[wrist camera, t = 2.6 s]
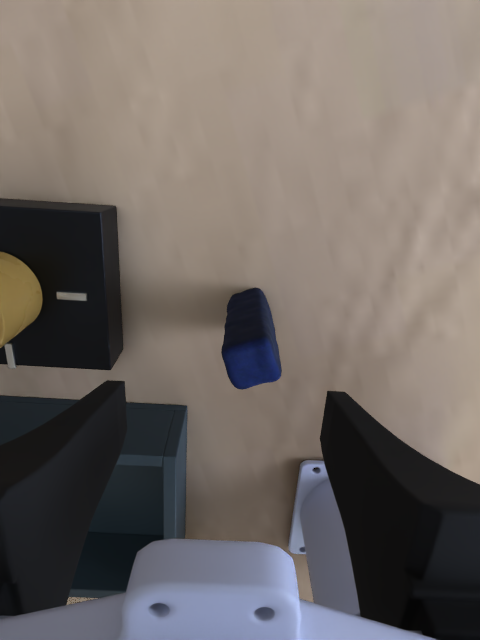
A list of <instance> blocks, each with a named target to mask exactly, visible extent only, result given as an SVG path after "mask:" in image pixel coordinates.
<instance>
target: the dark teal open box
mask: <svg viewBox="0 0 480 640" xmlns="http://www.w3.org/2000/svg"><path fill="white" fill-rule="evenodd" d="M78 401H79V400H70V399H51V398H33V397H14V396H0V445H2V444H4V443H6V442H9V441H11V440H13V439H16V438H18V437H20V436H22V435H24V434H26V433H28V432H30V431H31V430H33V429H35V428H37V427H39V426H41V425H42V424H44V423H46V422H47V421H49V420H51V419H52V418H54V417H55V416H57V415H58V414H60V413H62V412H63V411H65V410H66V409H68V408H69V407H71V406H72V405H74V404H75V403H76V402H78ZM126 415H127V432H126V436H125V440H124V443H123V447H122V450H121V453H120V456H119V458H118V461H117V463H116V465H115V468H114V470H113V472H112V474H111V477H110V479H109V481H108V483H107V486H106V488H105V490H104V492H103V495H102V497H101V499H100V501H99V504H98V506H97V508H96V511H95V513H94V516H93V518H92V521H91V524H90V527H89V530H88V533H87V536H86V539H85V543H84V546H83V549H82V552H81V555H80V559H79V562H78V565H77V569H76V572H75V575H74V579H73V582H72V586H71V589H70V593H69V596H68V597H87V598H102V597H107V596H112V595H117V594H121V593H126V590H127V586H128V582H129V579H130V575H131V571H132V567H133V564H134V561H135V558H136V555H137V552H138V551H140V550H141V549H142V548H144V547H145V546H147V545H148V544H150V543H151V542H153V541H159V540H165V539H172V538H175V539H185V511H186V452H187V406H183V405H164V404H145V403H126Z"/></svg>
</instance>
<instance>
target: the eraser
mask: <svg viewBox="0 0 480 640" xmlns="http://www.w3.org/2000/svg"><path fill="white" fill-rule="evenodd" d="M222 357H223V360H224V363H225V366H226V370H227V374H228V377H229V379H230V381H231V383H232V384H233V385H234V387H236V388H237V389H247V388H250V387H252V386H255V385H259V384H262V383H267V382H274V381H277V380H278V379H279V378H280V377H281V371H282V370H281V363H280V357H279V350H278V345H277V341H276V335H275V328H274V324H273V319H272V315H271V311H270V308H269V305H268V302H267V300H266V297H265V295H264V293H263V292H262V291H261V290H260V289H259V288H253V289H249V290H246V291H243V292H241V293H237V294H234V295H232V296H231V298H230V300H229V302H228V305H227V317H226V323H225V335H224V342H223V346H222Z"/></svg>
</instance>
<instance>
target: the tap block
mask: <svg viewBox="0 0 480 640" xmlns="http://www.w3.org/2000/svg"><path fill="white" fill-rule="evenodd" d="M0 252H4V253H7V254H10V255H12V256H14V257H16V258H18V259H19V260H21V261H22V262H23V263H24V264H26V265H27V266H28V267H29V268H30V269H31V271H32V272H33V273H34V275H35V276H36V278H37V280H38V282H39V284H40V287H41V290H42V299H43V300H42V307H41V310H40V313H39V315H38V316H37V318H36V319H35V320H34V321H33V322H32V323H31V324H30V325H28V326H27V327H26V328H25V329H24V330H22V331H21V332H20V333H19V334H17V335H16V336H15V337H14V338H12V339H11V340H10V341H9V342H8V343H6V344H5V345H4V346H3V347H1V348H0V364H8V368H13V369H15V368H16V367H17V366H16V365H27V366H45V367H63V368H81V369H99V370H111V369H112V367H113V365H114V364H115V362H116V360H117V359H118V357H119V355H120V354H121V352H122V350H123V334H122V313H121V293H120V272H119V252H118V232H117V211H116V206H110V205H95V204H79V203H63V202H48V201H32V200H16V199H1V198H0Z"/></svg>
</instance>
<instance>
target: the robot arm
mask: <svg viewBox="0 0 480 640" xmlns="http://www.w3.org/2000/svg"><path fill="white" fill-rule="evenodd" d="M126 432H127V415H126V398H125V381H109V380H107V381H106V382H104V383H103V384H101V385H100V386H98V387H97V388H96V389H94V390H93V391H92V392H90V393H89V394H88V395H86V396H85V397H83V398H82V399H81V400H79V401H78V402H76V403H75V404H74V405H72V406H71V407H69V408H68V409H66V410H65V411H63V412H62V413H60V414H58V415H57V416H55V417H54V418H52V419H51V420H49V421H47V422H46V423H44V424H42V425H41V426H39V427H37V428H35V429H33V430H31V431H30V432H28V433H26V434H24V435H22V436H20V437H18V438H16V439H13V440H11V441H9V442H6V443H4V444H2V445H0V640H480V485H479V484H477V483H475V482H473V481H470V480H468V479H466V478H464V477H462V476H460V475H458V474H456V473H454V472H452V471H450V470H448V469H446V468H444V467H443V466H441V465H439V464H437V463H435V462H433V461H432V460H430V459H428V458H427V457H425V456H423V455H422V454H420V453H419V452H417V451H416V450H414V449H413V448H411V447H410V446H408V445H407V444H405V443H404V442H403V441H401V440H400V439H399V438H397V437H396V436H395V435H393V434H392V433H391V432H390V431H388V430H387V429H386V428H385V427H383V426H382V425H381V424H380V423H379V422H378V421H376V420H375V419H374V418H373V417H372V416H371V415H370V414H369V413H367V412H366V411H365V410H364V409H363V408H362V407H361V406H360V405H359V404H358V403H357V402H355V401H354V400H353V399H352V398H351V397H350V396H349V395H348V394H347V393H345V392H337V391H327V397H326V404H325V410H324V416H323V423H322V429H321V435H320V441H321V447H322V454H323V459H324V461H319V460H305V461H303V462H302V463H301V464H300V469H299V475H298V482H297V489H296V496H295V503H294V509H293V516H292V523H291V530H290V536H289V543H288V546H289V551H290V552H291V553H294V554H306V557H307V564H308V570H309V576H310V582H311V588H312V594H313V600H314V603H312V602H309V601H306V600H302V599H299V592H298V585H297V577H296V571H295V566H294V562H293V558H292V557H291V556H289V555H288V554H287V553H286V552H285V551H283V550H282V549H281V548H280V547H278V546H275V545H270V544H266V543H262V542H249V541H224V540H200V539H175V538H172V539H165V540H159V541H153V542H151V543H150V544H148V545H147V546H145V547H144V548H142V549H141V550H140V551H138V552H137V555H136V558H135V561H134V564H133V567H132V571H131V575H130V579H129V582H128V586H127V590H126V593H121V594H117V595H112V596H107V597H102V598H98V599H93V600H88V601H83V602H79V603H74V604H69V605H66V603H67V600H68V596H69V593H70V589H71V586H72V582H73V579H74V575H75V572H76V569H77V565H78V562H79V559H80V555H81V552H82V549H83V546H84V543H85V539H86V536H87V533H88V530H89V527H90V524H91V521H92V518H93V516H94V513H95V511H96V508H97V506H98V504H99V501H100V499H101V497H102V495H103V492H104V490H105V488H106V486H107V483H108V481H109V479H110V477H111V474H112V472H113V470H114V468H115V465H116V463H117V461H118V458H119V456H120V453H121V450H122V447H123V443H124V440H125V436H126ZM315 467H318V469H313V468H315Z"/></svg>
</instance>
